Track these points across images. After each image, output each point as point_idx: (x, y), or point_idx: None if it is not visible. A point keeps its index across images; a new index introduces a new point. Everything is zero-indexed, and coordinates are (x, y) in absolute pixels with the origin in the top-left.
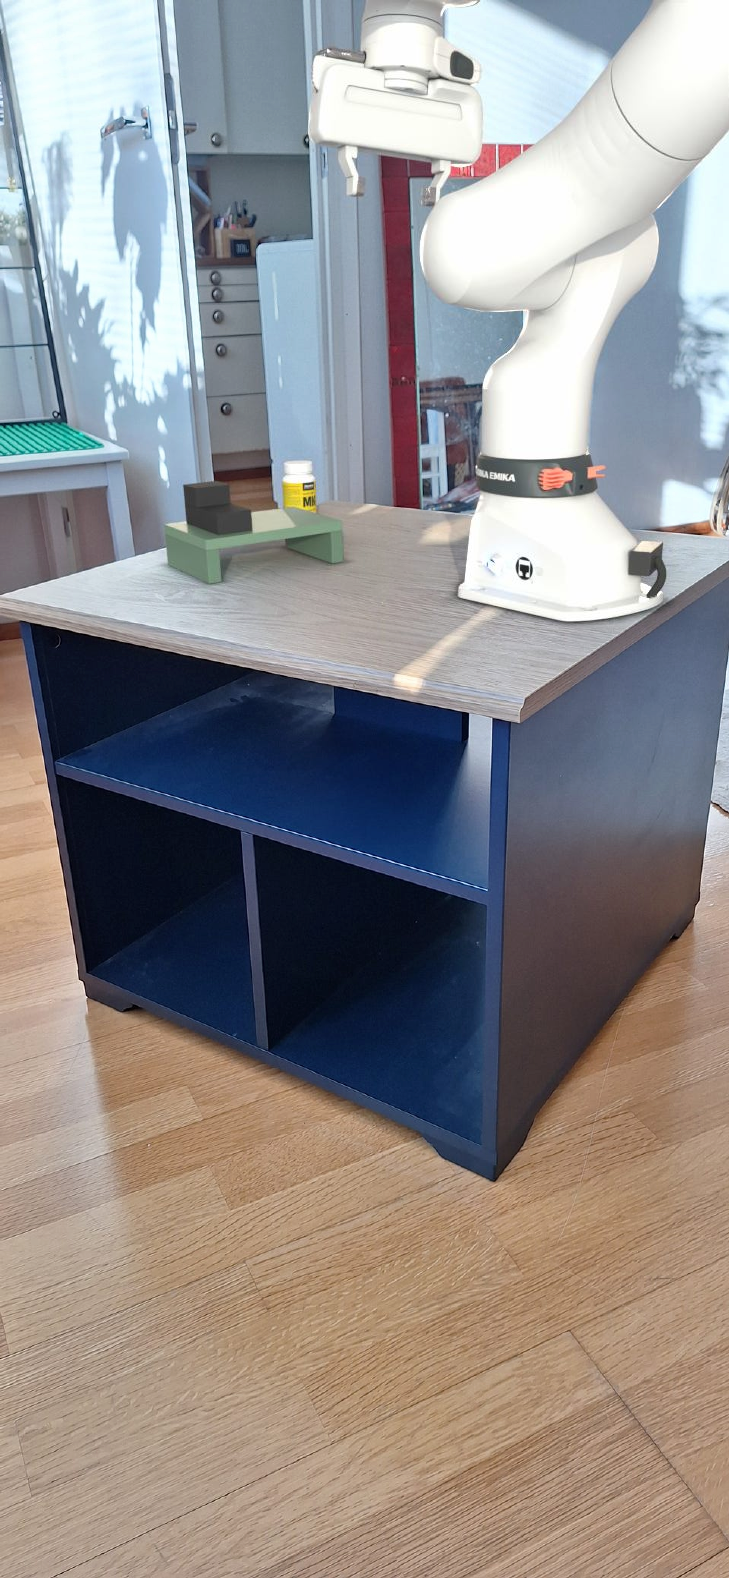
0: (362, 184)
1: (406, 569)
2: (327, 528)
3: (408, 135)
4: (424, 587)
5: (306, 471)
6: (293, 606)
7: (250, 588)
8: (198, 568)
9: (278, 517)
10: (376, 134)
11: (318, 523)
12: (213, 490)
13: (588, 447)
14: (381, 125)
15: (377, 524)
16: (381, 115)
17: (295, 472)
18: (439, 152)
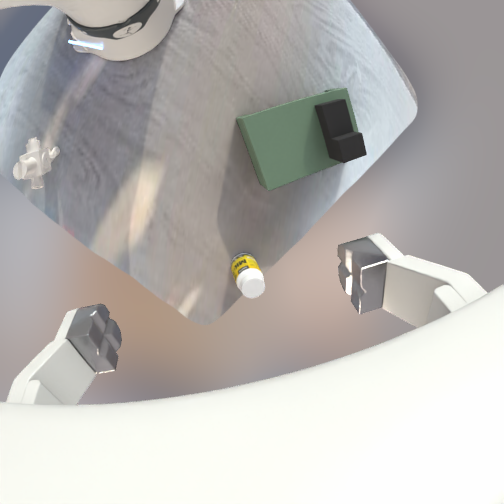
0: (360, 252)
1: (195, 82)
2: (254, 113)
3: (180, 475)
4: (197, 31)
5: (247, 276)
6: (290, 19)
7: (309, 68)
8: None
9: (288, 148)
10: (433, 377)
11: (263, 112)
12: (348, 136)
13: (13, 169)
14: (425, 445)
15: (185, 247)
16: (450, 496)
17: (256, 274)
18: (20, 415)
